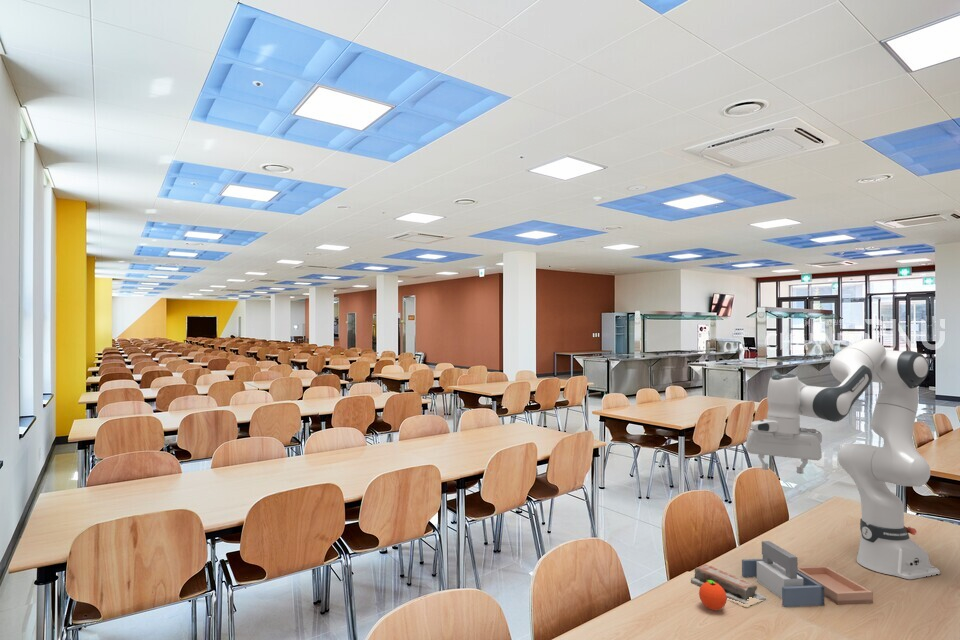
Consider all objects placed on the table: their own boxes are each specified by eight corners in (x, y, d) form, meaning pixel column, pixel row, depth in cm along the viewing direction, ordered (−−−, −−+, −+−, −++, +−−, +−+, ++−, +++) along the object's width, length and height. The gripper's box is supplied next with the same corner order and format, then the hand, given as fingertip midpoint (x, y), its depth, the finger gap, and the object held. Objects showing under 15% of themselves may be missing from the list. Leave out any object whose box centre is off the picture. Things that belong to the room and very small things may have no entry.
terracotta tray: (825, 575, 162) (825, 565, 162) (873, 602, 145) (872, 592, 145) (793, 576, 160) (793, 567, 161) (837, 604, 144) (837, 593, 144)
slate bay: (777, 574, 162) (777, 558, 162) (824, 605, 143) (824, 586, 143) (742, 575, 161) (741, 559, 161) (784, 607, 142) (784, 588, 142)
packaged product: (689, 567, 156) (709, 560, 161) (689, 583, 156) (709, 576, 161) (746, 592, 141) (766, 583, 146) (746, 610, 141) (766, 601, 146)
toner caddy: (774, 580, 158) (774, 540, 159) (803, 599, 146) (803, 557, 147) (756, 581, 157) (756, 541, 158) (784, 600, 146) (783, 557, 146)
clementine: (693, 599, 145) (693, 574, 145) (718, 600, 145) (718, 574, 145) (705, 614, 137) (705, 587, 137) (731, 615, 137) (731, 588, 137)
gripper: (819, 428, 159) (818, 473, 158) (745, 422, 166) (744, 465, 165) (825, 431, 153) (824, 478, 152) (748, 424, 160) (747, 469, 159)
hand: (782, 471), depth 158 cm, fingers open, 8 cm apart
